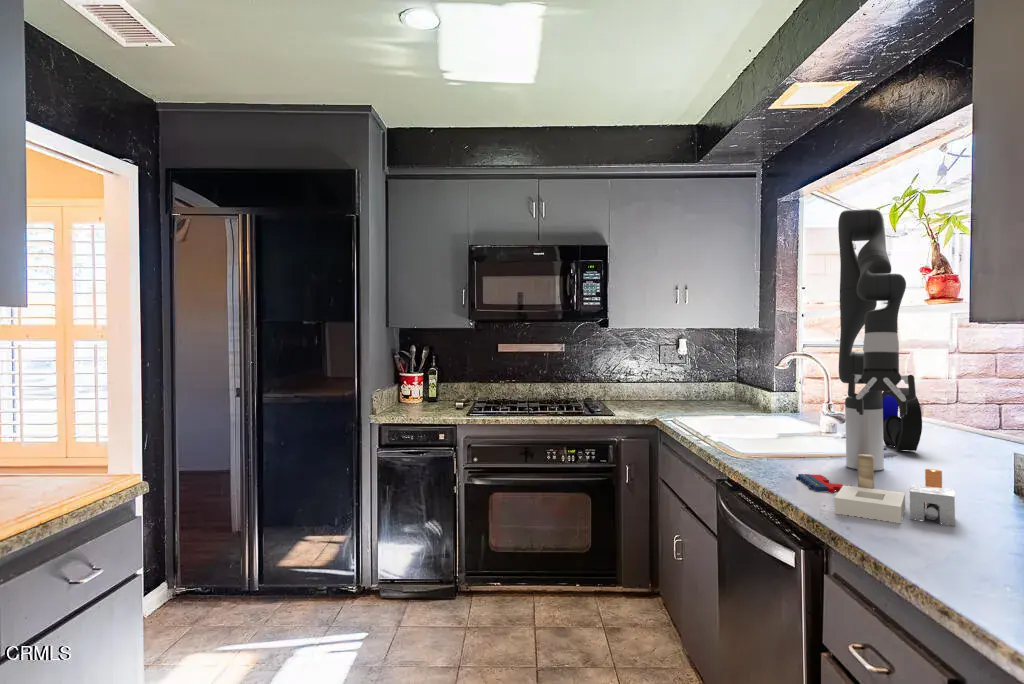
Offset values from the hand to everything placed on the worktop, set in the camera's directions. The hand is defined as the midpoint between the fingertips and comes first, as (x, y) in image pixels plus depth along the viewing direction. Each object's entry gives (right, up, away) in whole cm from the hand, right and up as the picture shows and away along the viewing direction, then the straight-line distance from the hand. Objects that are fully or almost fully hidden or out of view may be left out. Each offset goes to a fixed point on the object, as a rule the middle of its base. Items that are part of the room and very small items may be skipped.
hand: (881, 415), depth 143 cm
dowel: (-8, -18, -8) cm, 22 cm away
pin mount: (-4, -19, -23) cm, 30 cm away
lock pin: (-3, -18, -21) cm, 28 cm away
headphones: (+34, -17, +43) cm, 58 cm away
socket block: (-14, -19, -17) cm, 29 cm away
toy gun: (-12, -19, +4) cm, 23 cm away
